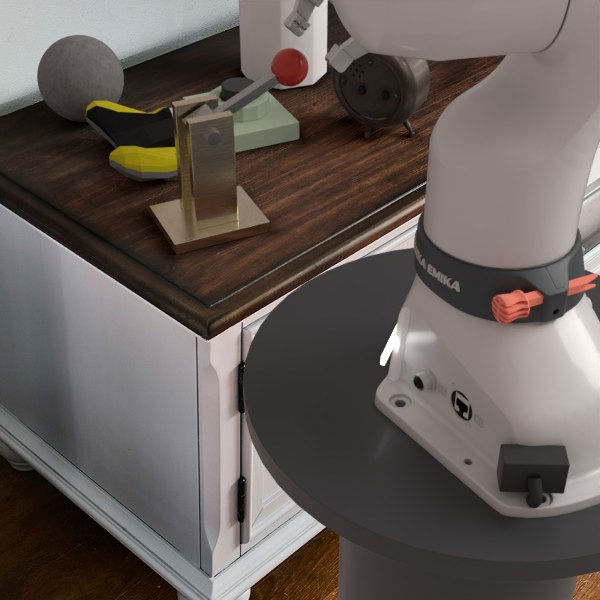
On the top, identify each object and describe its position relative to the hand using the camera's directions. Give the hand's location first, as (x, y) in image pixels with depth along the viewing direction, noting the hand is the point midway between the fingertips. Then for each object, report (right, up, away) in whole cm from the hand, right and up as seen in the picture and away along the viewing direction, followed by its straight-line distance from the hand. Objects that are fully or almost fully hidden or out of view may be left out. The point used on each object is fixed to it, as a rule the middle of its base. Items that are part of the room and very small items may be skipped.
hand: (310, 48), depth 99 cm
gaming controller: (-18, -9, +17) cm, 26 cm away
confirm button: (-8, -1, +22) cm, 23 cm away
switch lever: (-5, -6, +1) cm, 8 cm away
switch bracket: (-10, -16, +6) cm, 20 cm away
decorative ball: (-27, -2, +26) cm, 37 cm away
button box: (-8, -4, +24) cm, 25 cm away
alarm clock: (+8, -4, +23) cm, 24 cm away
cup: (-3, +5, +36) cm, 37 cm away
